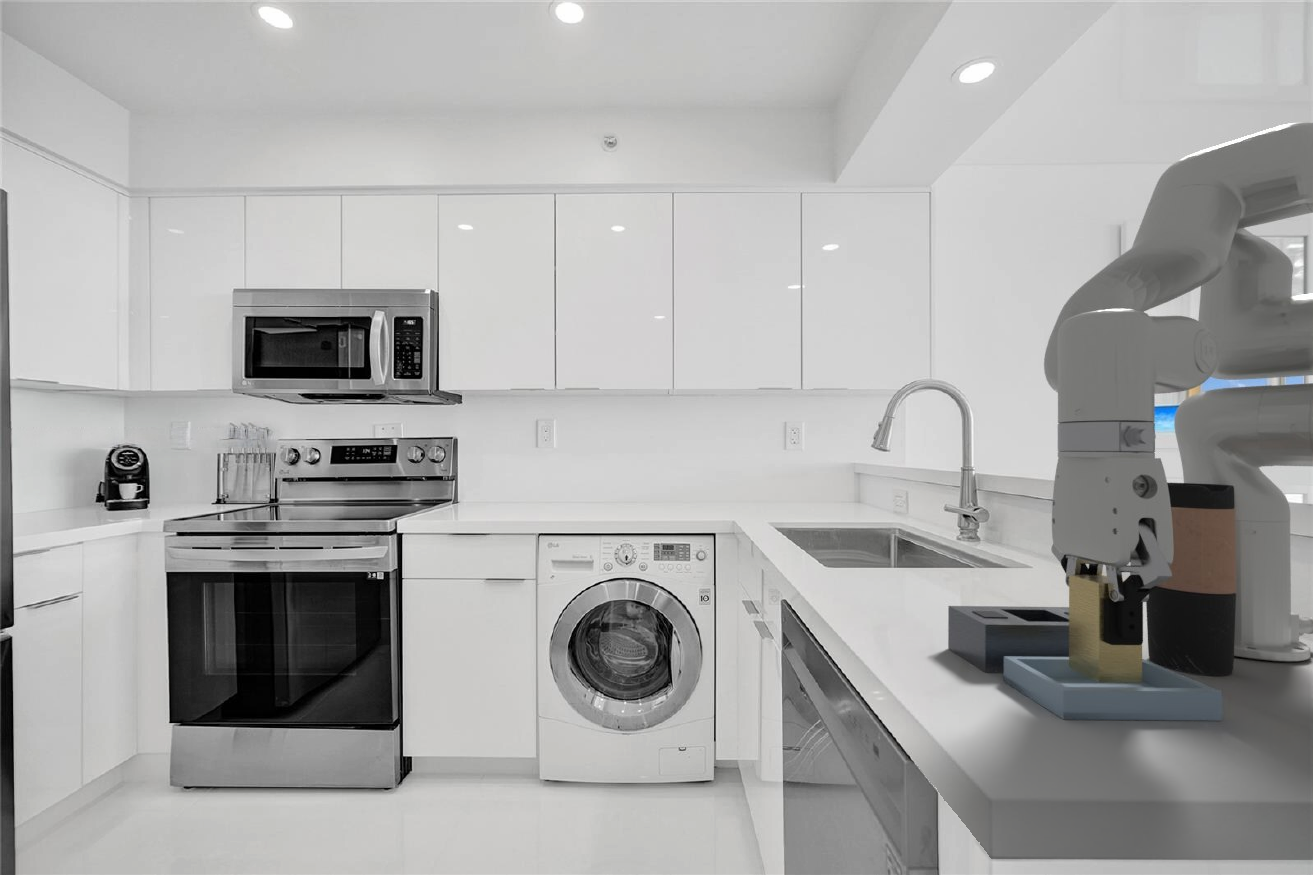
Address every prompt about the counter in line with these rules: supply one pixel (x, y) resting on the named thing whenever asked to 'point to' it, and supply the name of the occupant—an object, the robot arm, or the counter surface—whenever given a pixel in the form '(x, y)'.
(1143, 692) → the parts tray
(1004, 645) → the grey slotted block
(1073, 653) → the brushed brass bar
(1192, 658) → the travel mug
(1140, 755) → the counter surface
